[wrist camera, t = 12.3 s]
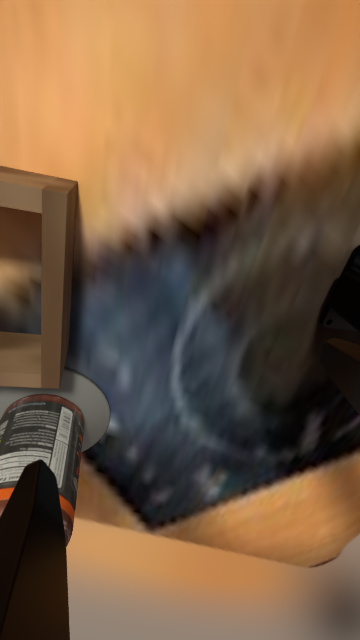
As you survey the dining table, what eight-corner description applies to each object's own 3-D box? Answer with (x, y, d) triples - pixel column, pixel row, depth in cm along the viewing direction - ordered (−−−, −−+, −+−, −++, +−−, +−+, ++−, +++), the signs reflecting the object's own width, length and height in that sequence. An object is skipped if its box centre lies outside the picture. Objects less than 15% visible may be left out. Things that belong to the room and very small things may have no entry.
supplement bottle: (76, 447, 26) (52, 626, 17) (-2, 439, 25) (-79, 636, 15) (93, 396, 24) (77, 572, 14) (8, 382, 22) (-76, 575, 12)
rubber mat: (116, 369, 23) (116, 372, 23) (103, 456, 28) (103, 460, 28) (-35, 359, 21) (-38, 363, 21) (-22, 456, 26) (-24, 461, 25)
